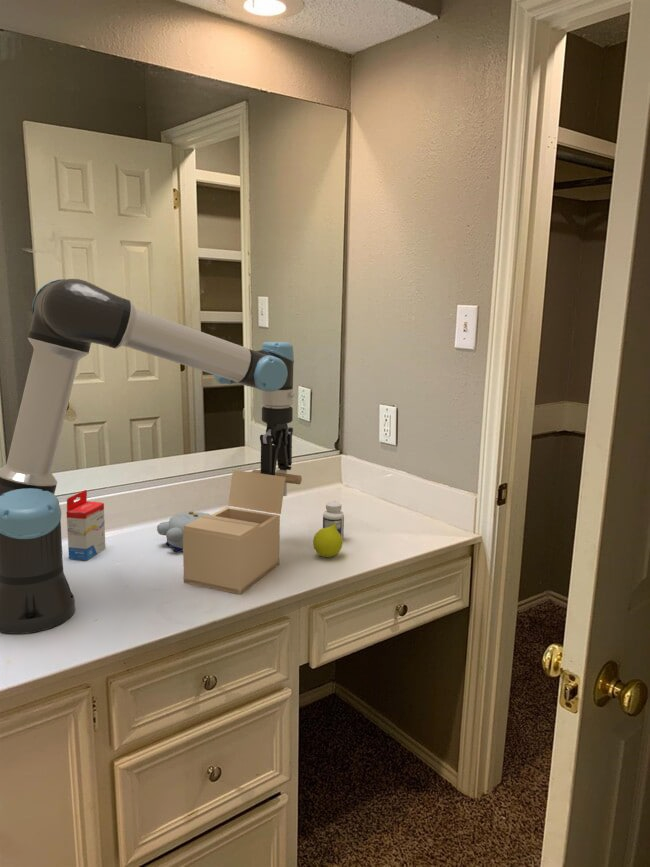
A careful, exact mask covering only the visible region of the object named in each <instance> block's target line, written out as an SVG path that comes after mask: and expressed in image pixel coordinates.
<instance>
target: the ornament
mask: <svg viewBox="0 0 650 867" xmlns="http://www.w3.org/2000/svg"><path fill="white" fill-rule="evenodd" d="M336 524H337V522H336V521H335V522H334V524H333V525H332V526H331V527H326V528H323V527H322V528H320V529H318V531H317V532H316V533H315V534H314V536H313V540H312V545H313V549H314V550H315V552H316V554H318V555H319V556H321V557H324V558H331V557H334V556H337V554H339V553H340V552H341V549H342V548H343V541H342V537H341V535H340V533H339V532H338V531H337V529H336Z"/></svg>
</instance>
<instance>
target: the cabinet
mask: <svg viewBox="0 0 650 867" xmlns="http://www.w3.org/2000/svg"><path fill="white" fill-rule="evenodd" d="M280 515H281V514H275V513H269V512H262V511H256V510H250V509H244V508H237V507H231V506H226V507H224V508H222V509H221V510H218V511H216V512H215V513H213V514H210V515H204V516H202V517H201V518H199V519H197V520H195V521H193V522H191V523H189V524H187V525H185V526H184V529H183V552H182V556H183V557H182V560H183V563H182V564H183V583H185V584H189V585H193V586H198V587H202V588H203V587H204V588H207V589H212V590H216V591H221V592H224V593H225V592H227V593H232V594H234V595H242V594H243V593H245V592H246V591H247V590H248V589H250V588H251V587H252V586H254V585H255V584H256V583H258V582H259V581H260V580H262V579H263V578H264V577H265V576H267V575H268V574H269V573H271V572H272V571H274V569H276V568H277V567H278V566H280V545H281V544H280V543H281V542H280V541H281V540H280V537H281V535H280V534H281V532H280V531H281V529H280V525H281V524H280V522H281V516H280Z"/></svg>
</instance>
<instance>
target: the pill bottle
mask: <svg viewBox="0 0 650 867" xmlns="http://www.w3.org/2000/svg"><path fill="white" fill-rule="evenodd" d="M335 521H336V522H337V524H336V529H337V531H338V532H339V533H340V535H341V537H342V542H343V541H344V526H345V525H344V523H345V514H344V512H343V511H342V503H341V502H337V501H329V502H326V503H325V511H324V512H323V514H322V528H326V527H331V526H332V525H333V524H334V522H335Z"/></svg>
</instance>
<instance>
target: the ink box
mask: <svg viewBox="0 0 650 867" xmlns="http://www.w3.org/2000/svg"><path fill="white" fill-rule="evenodd" d="M87 496H88V491H87V489H85V490H82V491H81V492H78V493H75V494H74V495H71V496H70V497H68V498H66V526H67V527H66V528H67V529H66V530H67V545H68V546H67V547H68V559H69V560H77V561H89V560H90V559H92V558H94V557H95V556H96V555H98V554H100V553H101V552H103V551H104V550H106V532H105V531H106V530H105V529H106V527H105V524H106V523H105V502H100V501H87V500H88V497H87ZM77 498H78V499H79V498H80V499H79V500H77ZM76 500H77V501H76ZM74 501H75V502H74Z"/></svg>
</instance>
